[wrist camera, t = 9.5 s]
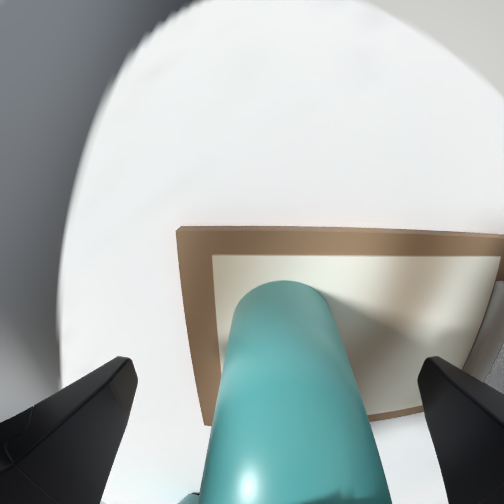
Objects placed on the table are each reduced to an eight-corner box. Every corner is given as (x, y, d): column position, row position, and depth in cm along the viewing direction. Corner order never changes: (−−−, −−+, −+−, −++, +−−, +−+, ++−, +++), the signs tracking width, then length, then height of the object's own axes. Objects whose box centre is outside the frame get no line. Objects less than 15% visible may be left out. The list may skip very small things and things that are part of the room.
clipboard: (516, 235, 9) (534, 244, 8) (458, 394, 12) (467, 409, 11) (180, 226, 10) (168, 237, 8) (206, 416, 13) (201, 436, 12)
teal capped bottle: (340, 277, 9) (460, 557, 1) (327, 363, 11) (369, 584, 2) (226, 276, 10) (143, 588, 1) (231, 363, 11) (197, 593, 2)
